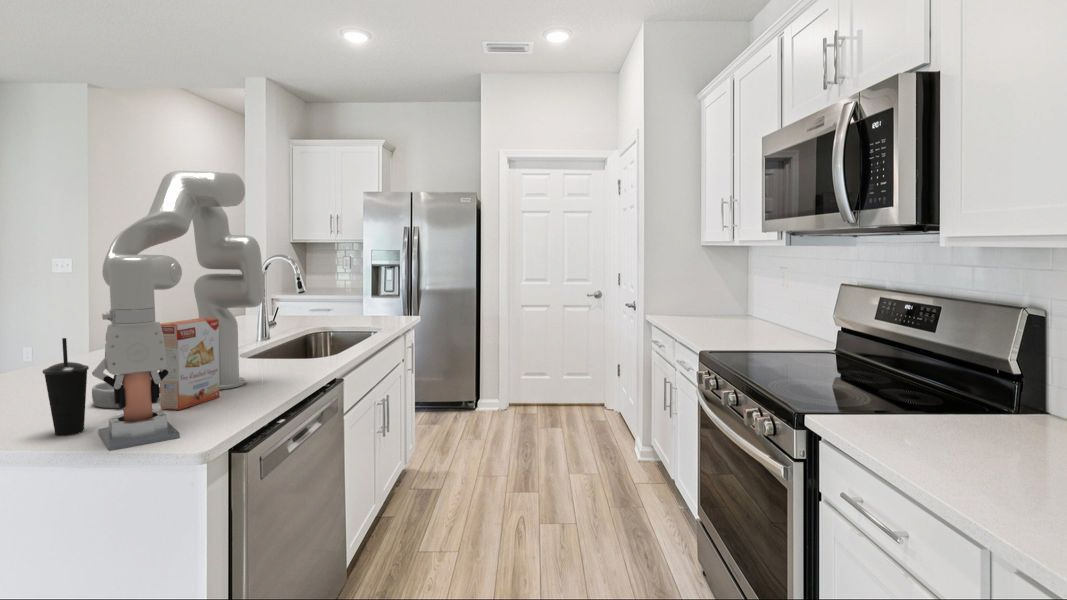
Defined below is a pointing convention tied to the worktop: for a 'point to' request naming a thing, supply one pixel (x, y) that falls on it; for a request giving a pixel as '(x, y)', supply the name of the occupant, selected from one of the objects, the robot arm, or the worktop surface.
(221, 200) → the robot arm
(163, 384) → the cracker box
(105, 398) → the dish
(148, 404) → the cylinder
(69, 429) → the drinking cup
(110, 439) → the ring block
